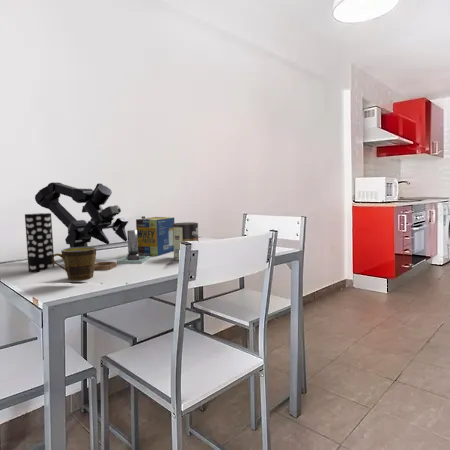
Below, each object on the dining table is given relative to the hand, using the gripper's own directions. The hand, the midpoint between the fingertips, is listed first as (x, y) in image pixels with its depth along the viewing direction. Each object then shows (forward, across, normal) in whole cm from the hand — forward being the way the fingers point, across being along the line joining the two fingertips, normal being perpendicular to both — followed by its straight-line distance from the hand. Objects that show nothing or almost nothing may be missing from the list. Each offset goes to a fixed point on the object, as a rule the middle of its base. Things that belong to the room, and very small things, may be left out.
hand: (117, 242), depth 145 cm
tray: (+11, 0, 0) cm, 11 cm away
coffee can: (+19, +18, -8) cm, 28 cm away
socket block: (+11, -14, 0) cm, 18 cm away
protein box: (+5, +24, +6) cm, 25 cm away
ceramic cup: (+15, -30, -4) cm, 33 cm away
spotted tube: (-4, -23, +16) cm, 28 cm away
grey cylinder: (+11, 0, -1) cm, 11 cm away
